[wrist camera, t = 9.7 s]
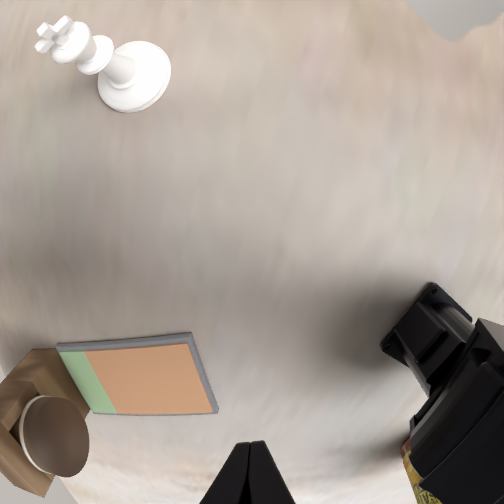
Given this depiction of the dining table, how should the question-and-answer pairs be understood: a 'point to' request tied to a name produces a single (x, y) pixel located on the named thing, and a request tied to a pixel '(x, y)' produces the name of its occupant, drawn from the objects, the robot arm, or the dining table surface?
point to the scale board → (141, 376)
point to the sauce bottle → (416, 479)
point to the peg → (53, 435)
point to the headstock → (14, 401)
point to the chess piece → (110, 63)
